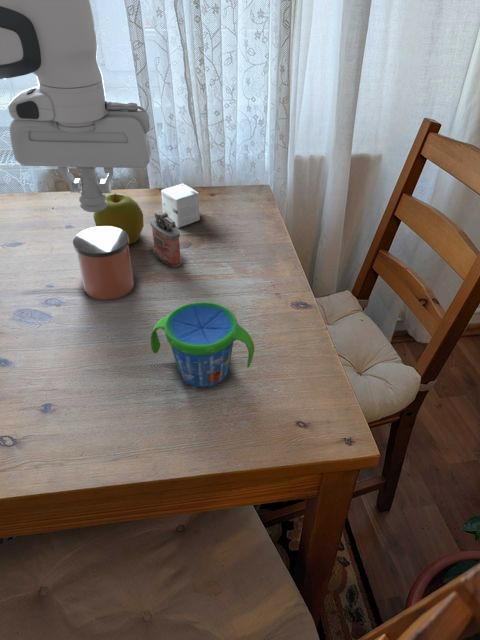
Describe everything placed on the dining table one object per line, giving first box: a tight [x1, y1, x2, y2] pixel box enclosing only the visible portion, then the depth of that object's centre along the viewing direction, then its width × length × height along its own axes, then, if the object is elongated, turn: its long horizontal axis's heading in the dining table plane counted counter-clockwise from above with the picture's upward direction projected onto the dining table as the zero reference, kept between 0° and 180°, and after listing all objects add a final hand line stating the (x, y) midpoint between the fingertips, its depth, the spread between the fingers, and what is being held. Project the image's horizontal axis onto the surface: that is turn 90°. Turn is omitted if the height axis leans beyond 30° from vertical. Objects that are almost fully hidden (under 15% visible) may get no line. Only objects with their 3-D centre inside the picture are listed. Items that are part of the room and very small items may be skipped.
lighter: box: [149, 210, 183, 267], centre depth 103 cm, size 8×3×10 cm, turn 40°
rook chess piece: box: [76, 167, 108, 213], centre depth 84 cm, size 4×4×8 cm
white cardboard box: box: [160, 183, 201, 229], centre depth 115 cm, size 6×6×7 cm
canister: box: [72, 226, 135, 300], centre depth 94 cm, size 9×9×10 cm
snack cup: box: [150, 301, 255, 388], centre depth 79 cm, size 16×10×10 cm
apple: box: [92, 192, 145, 246], centre depth 107 cm, size 10×10×11 cm
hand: (91, 191), depth 85 cm, fingers closed on rook chess piece, 3 cm apart
